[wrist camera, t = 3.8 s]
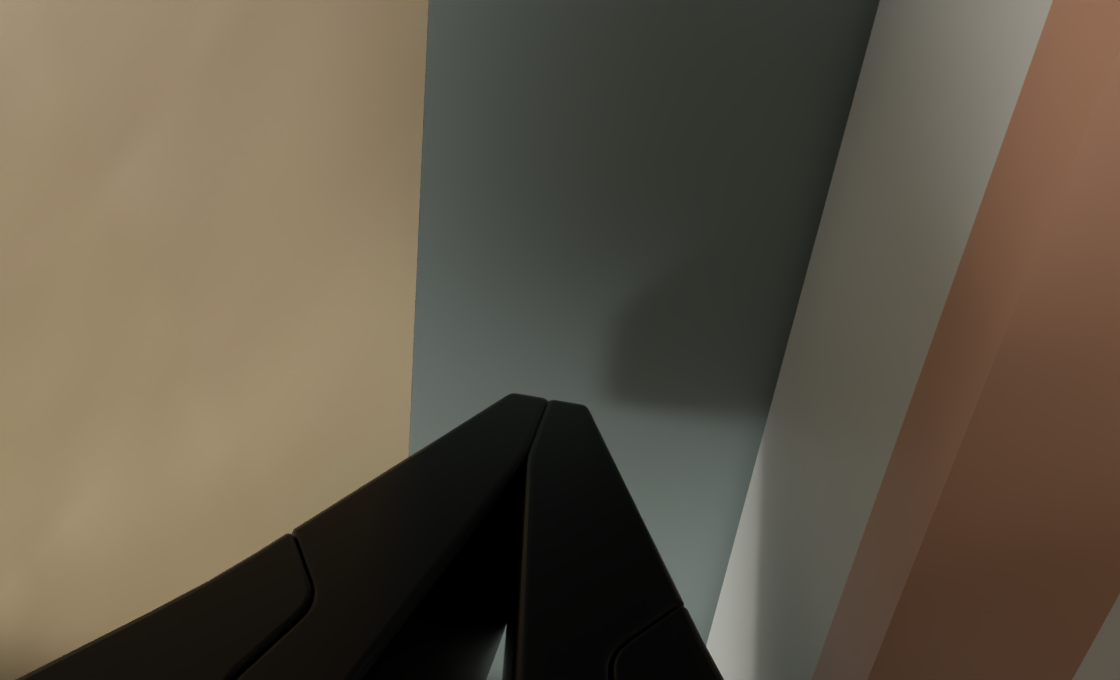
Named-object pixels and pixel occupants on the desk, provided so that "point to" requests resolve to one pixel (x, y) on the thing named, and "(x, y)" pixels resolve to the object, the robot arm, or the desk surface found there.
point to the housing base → (629, 232)
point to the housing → (950, 370)
